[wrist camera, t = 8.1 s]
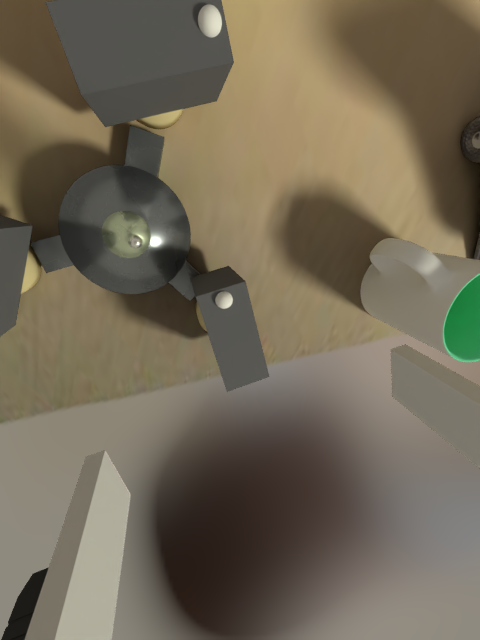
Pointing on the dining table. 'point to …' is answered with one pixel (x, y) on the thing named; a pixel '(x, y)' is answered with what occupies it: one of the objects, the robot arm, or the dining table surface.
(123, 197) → the level base
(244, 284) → the knob
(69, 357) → the dining table surface
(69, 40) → the grey block with dot
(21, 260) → the knob
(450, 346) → the mug
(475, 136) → the camera
